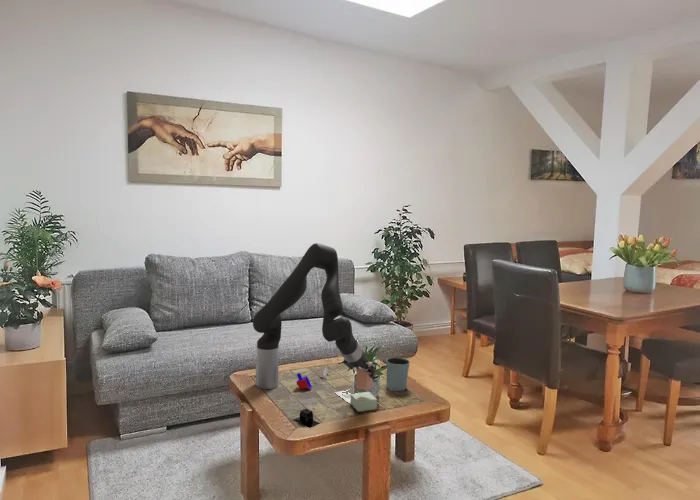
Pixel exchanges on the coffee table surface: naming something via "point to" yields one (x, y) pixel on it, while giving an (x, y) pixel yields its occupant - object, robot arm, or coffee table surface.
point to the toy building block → (303, 382)
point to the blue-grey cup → (397, 373)
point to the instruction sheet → (344, 395)
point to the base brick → (363, 401)
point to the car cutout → (325, 373)
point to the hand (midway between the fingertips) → (366, 374)
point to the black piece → (306, 418)
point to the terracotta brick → (363, 379)
